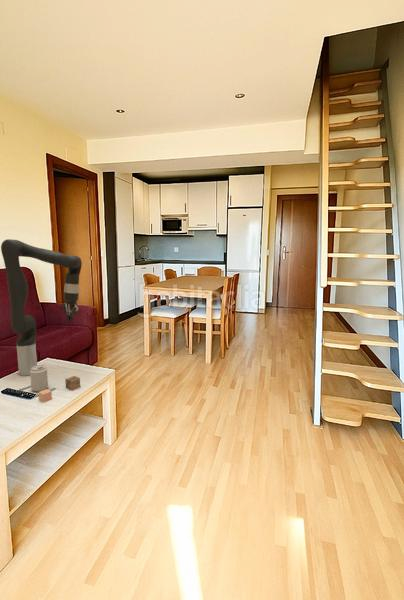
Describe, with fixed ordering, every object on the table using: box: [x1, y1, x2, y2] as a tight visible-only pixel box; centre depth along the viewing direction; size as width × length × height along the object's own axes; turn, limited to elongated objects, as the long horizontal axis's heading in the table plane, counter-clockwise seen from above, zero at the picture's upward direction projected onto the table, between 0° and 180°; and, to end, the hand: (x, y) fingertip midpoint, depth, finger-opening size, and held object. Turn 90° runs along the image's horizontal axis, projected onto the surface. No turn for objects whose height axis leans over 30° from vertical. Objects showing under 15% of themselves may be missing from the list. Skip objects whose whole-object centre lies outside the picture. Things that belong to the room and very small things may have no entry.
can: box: [29, 364, 49, 393], centre depth 152 cm, size 8×8×12 cm
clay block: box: [37, 388, 53, 403], centre depth 142 cm, size 4×4×4 cm
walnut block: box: [64, 375, 81, 391], centre depth 155 cm, size 5×5×5 cm
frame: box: [18, 384, 57, 399], centre depth 152 cm, size 14×12×1 cm
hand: (69, 321), depth 170 cm, fingers closed
